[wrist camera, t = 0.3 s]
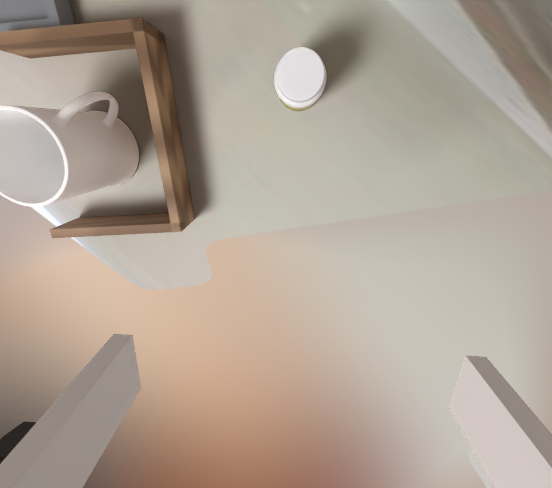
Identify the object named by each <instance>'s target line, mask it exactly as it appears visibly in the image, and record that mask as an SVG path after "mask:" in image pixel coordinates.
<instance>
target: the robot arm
mask: <svg viewBox="0 0 552 488" xmlns="http://www.w3.org/2000/svg"><path fill="white" fill-rule="evenodd" d="M140 388H141V385H140V379H139V372H138V366H137V361H136V354H135V348H134V342H133V336H132V335H120V334H114V335H113V336H112V337H111V338H110V339H109V340H108V341H107V343H106V344H105V345H104V346H103V347H102V348H101V349H100V351H99V352H98V353H97V354H96V355H95V356H94V357H93V358H92V360H91V361H90V362H89V363H88V364H87V365H86V367H85V368H84V369H83V370H82V371H81V372H80V373H79V375H78V376H77V377H76V378H75V379H74V380H73V382H72V383H71V384H70V385H69V386H68V387H67V388H66V389H65V391H64V392H63V393H62V394H61V395H60V396H59V397H58V399H57V400H56V401H55V402H54V403H53V404H52V405H51V407H50V408H49V409H48V410H47V411H46V412H45V413H44V415H43V416H42V417H41V418H40V419H39V420H38V422H37V423H36V422H23V423H21V424H20V425H19V426H17V427H16V428H15V429H13V430H12V431H10V432H9V433H8V434H6V435H5V436H3V437H2V438H1V439H0V488H82V487H83V486H84V484H85V482H86V481H87V479H88V477H89V476H90V474H91V472H92V470H93V469H94V467H95V465H96V464H97V462H98V460H99V458H100V457H101V455H102V453H103V452H104V450H105V448H106V447H107V444H108V443H109V441H110V440H111V438H112V436H113V434H114V433H115V431H116V429H117V428H118V426H119V424H120V422H121V421H122V419H123V418H124V416H125V414H126V412H127V411H128V409H129V407H130V406H131V404H132V402H133V401H134V399H135V397H136V395H137V393H138V392H139V390H140ZM449 410H450V411H451V413H452V415H453V417H454V419H455V420H456V422H457V424H458V426H459V428H460V429H461V431H462V433H463V435H464V436H465V438H466V440H467V442H468V443H469V445H470V447H471V449H472V451H473V453H474V454H475V456H476V458H477V460H478V461H479V463H480V465H481V467H482V469H483V470H484V472H485V474H486V476H487V478H488V479H489V481H490V483H491V485H492V486H493V488H552V434H551V433H550V432H549V430H548V429H547V428H546V427H545V426H544V425H543V423H542V422H541V421H540V420H539V419H538V418H537V416H536V415H535V414H534V413H533V412H532V411H531V409H530V408H529V407H528V406H527V405H526V404H525V402H524V401H523V400H522V399H521V398H520V396H519V395H518V394H517V393H516V392H515V390H514V389H513V388H512V387H511V386H510V385H509V384H508V382H507V381H506V380H505V379H504V378H503V376H502V375H501V374H500V373H499V372H498V371H497V369H496V368H495V367H494V366H493V365H492V363H491V362H490V361H489V360H488V359H487V358H486V357H479V356H465V360H464V363H463V366H462V369H461V372H460V376H459V379H458V382H457V385H456V388H455V391H454V395H453V397H452V401H451V404H450V407H449Z"/></svg>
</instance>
